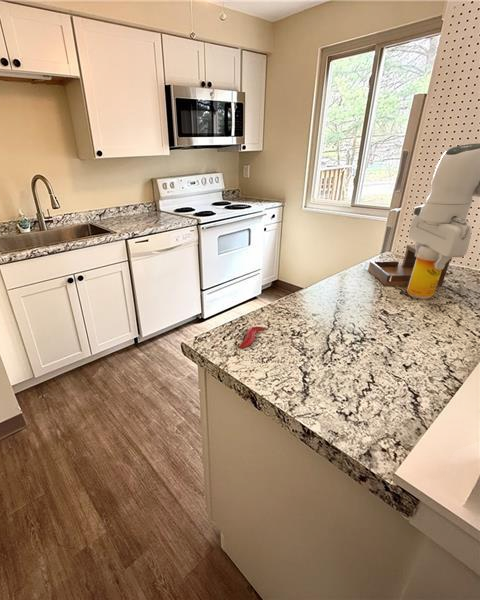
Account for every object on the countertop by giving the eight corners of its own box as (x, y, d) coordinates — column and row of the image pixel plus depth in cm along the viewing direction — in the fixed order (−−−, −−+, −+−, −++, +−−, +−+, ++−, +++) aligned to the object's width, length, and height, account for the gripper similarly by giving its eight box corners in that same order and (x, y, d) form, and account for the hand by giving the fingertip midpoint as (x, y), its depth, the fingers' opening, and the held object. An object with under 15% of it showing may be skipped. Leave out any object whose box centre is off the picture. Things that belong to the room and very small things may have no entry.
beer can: (432, 301, 88) (449, 250, 81) (404, 296, 91) (419, 247, 85) (433, 293, 92) (450, 244, 85) (407, 289, 95) (421, 242, 89)
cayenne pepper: (257, 325, 84) (258, 319, 84) (272, 332, 81) (273, 326, 80) (227, 342, 79) (227, 336, 78) (242, 350, 75) (242, 343, 74)
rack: (418, 270, 107) (425, 244, 104) (442, 286, 95) (452, 257, 91) (367, 270, 111) (373, 245, 107) (385, 285, 99) (392, 258, 95)
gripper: (488, 221, 72) (466, 276, 78) (436, 206, 89) (421, 252, 95) (454, 221, 73) (436, 276, 79) (410, 207, 91) (397, 252, 97)
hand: (428, 262), depth 87 cm, fingers open, 8 cm apart
